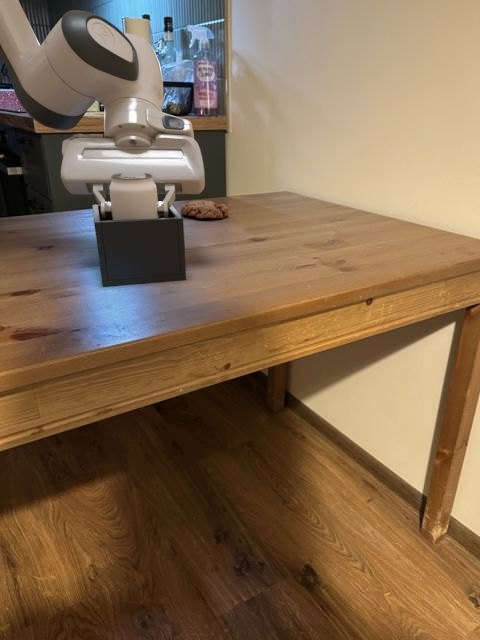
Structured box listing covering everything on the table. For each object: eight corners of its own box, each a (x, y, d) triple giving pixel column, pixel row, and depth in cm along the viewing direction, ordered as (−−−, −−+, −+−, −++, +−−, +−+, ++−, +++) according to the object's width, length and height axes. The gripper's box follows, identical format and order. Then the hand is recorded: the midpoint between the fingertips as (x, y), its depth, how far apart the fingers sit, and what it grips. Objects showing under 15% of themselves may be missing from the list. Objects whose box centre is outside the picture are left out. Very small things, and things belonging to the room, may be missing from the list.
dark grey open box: (102, 286, 68) (94, 222, 64) (99, 261, 78) (92, 204, 74) (186, 279, 72) (183, 218, 68) (173, 256, 81) (170, 201, 77)
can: (152, 251, 78) (145, 171, 73) (168, 262, 73) (163, 177, 68) (111, 257, 75) (101, 173, 69) (125, 269, 70) (116, 180, 65)
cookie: (185, 210, 113) (184, 196, 112) (231, 212, 113) (231, 198, 111) (175, 220, 104) (174, 205, 103) (225, 222, 104) (225, 207, 102)
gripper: (56, 118, 70) (52, 203, 66) (202, 121, 73) (206, 202, 69) (68, 149, 76) (64, 228, 72) (202, 150, 79) (206, 227, 75)
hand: (135, 216), depth 71 cm, fingers closed on can, 6 cm apart
